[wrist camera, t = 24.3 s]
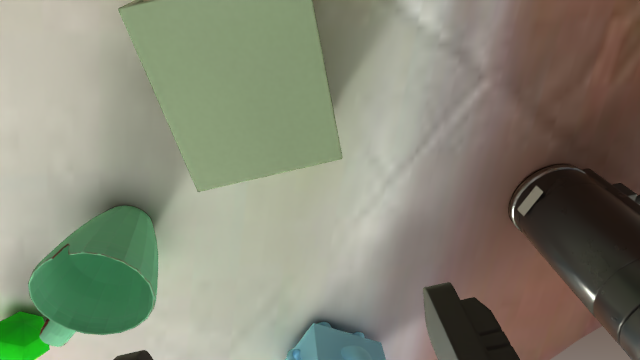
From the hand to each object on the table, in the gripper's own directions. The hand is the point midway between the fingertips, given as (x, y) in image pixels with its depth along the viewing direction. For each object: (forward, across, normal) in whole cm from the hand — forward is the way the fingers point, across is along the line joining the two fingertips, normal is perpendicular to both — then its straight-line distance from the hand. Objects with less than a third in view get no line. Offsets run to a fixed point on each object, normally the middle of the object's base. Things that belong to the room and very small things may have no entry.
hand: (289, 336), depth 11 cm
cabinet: (+28, +2, -1) cm, 28 cm away
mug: (+28, +21, +14) cm, 38 cm away
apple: (+28, +36, +24) cm, 52 cm away
